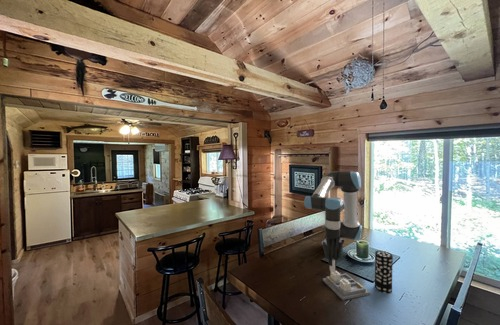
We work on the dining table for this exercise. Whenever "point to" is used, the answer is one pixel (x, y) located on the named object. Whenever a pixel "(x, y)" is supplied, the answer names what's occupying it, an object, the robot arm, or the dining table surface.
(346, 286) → the tab
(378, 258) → the spotted tube
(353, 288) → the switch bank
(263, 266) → the dining table surface
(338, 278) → the tab
